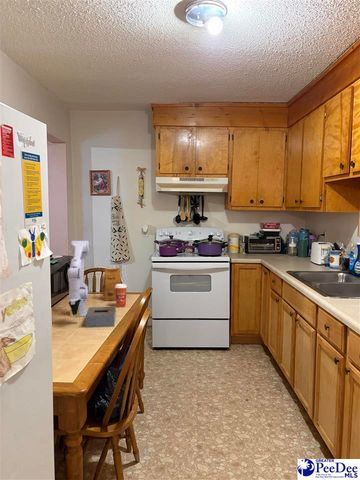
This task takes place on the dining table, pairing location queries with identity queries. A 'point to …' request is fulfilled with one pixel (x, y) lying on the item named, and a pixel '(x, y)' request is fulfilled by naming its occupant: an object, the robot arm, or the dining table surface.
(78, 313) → the block
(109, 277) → the coffee package
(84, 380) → the dining table surface
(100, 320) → the coin box
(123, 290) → the paper cup
